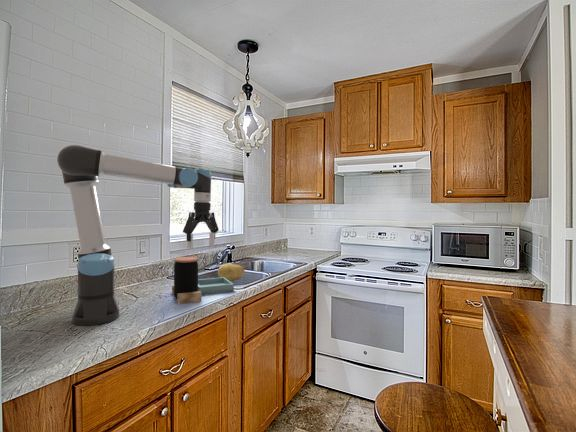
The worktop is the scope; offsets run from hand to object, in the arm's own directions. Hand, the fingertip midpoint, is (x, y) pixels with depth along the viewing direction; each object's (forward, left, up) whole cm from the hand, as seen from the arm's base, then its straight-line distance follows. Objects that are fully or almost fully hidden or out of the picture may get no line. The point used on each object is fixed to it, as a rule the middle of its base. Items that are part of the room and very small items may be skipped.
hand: (201, 247), depth 152 cm
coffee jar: (-7, +1, -23) cm, 24 cm away
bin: (+8, +11, -23) cm, 27 cm away
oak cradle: (-7, +1, -23) cm, 24 cm away
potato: (+22, +25, -23) cm, 41 cm away
